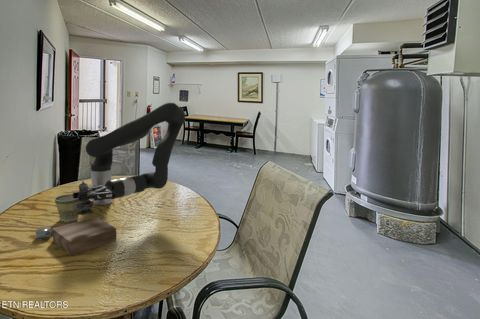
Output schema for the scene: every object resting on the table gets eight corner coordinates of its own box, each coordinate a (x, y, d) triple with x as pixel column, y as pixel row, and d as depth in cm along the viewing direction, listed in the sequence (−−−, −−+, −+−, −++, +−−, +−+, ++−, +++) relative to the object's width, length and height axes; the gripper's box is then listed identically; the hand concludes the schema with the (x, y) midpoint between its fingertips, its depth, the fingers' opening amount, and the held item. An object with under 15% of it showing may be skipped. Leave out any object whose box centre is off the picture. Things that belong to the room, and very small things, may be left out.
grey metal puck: (34, 237, 114) (33, 229, 113) (49, 233, 118) (48, 226, 117) (38, 241, 111) (38, 233, 110) (53, 237, 114) (53, 229, 114)
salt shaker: (80, 209, 113) (78, 178, 111) (96, 209, 114) (94, 178, 111) (73, 215, 107) (70, 182, 105) (90, 215, 108) (88, 183, 106)
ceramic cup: (55, 225, 125) (53, 202, 123) (57, 216, 134) (55, 195, 132) (90, 220, 131) (89, 198, 129) (89, 212, 140) (88, 192, 138)
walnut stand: (53, 241, 111) (52, 228, 110) (96, 228, 123) (95, 216, 122) (71, 256, 101) (70, 242, 100) (116, 240, 113) (116, 228, 113)
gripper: (111, 175, 124) (66, 183, 111) (130, 181, 115) (84, 191, 102) (112, 192, 125) (67, 202, 112) (130, 200, 117) (85, 212, 103)
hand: (76, 197), depth 107 cm, fingers closed on salt shaker, 3 cm apart
